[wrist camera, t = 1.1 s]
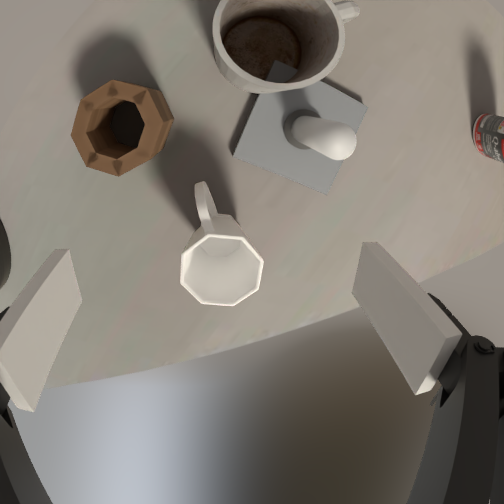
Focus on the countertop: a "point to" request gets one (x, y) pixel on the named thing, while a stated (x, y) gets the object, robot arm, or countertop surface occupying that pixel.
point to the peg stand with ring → (301, 131)
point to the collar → (100, 133)
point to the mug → (279, 40)
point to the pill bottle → (489, 136)
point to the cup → (219, 257)
